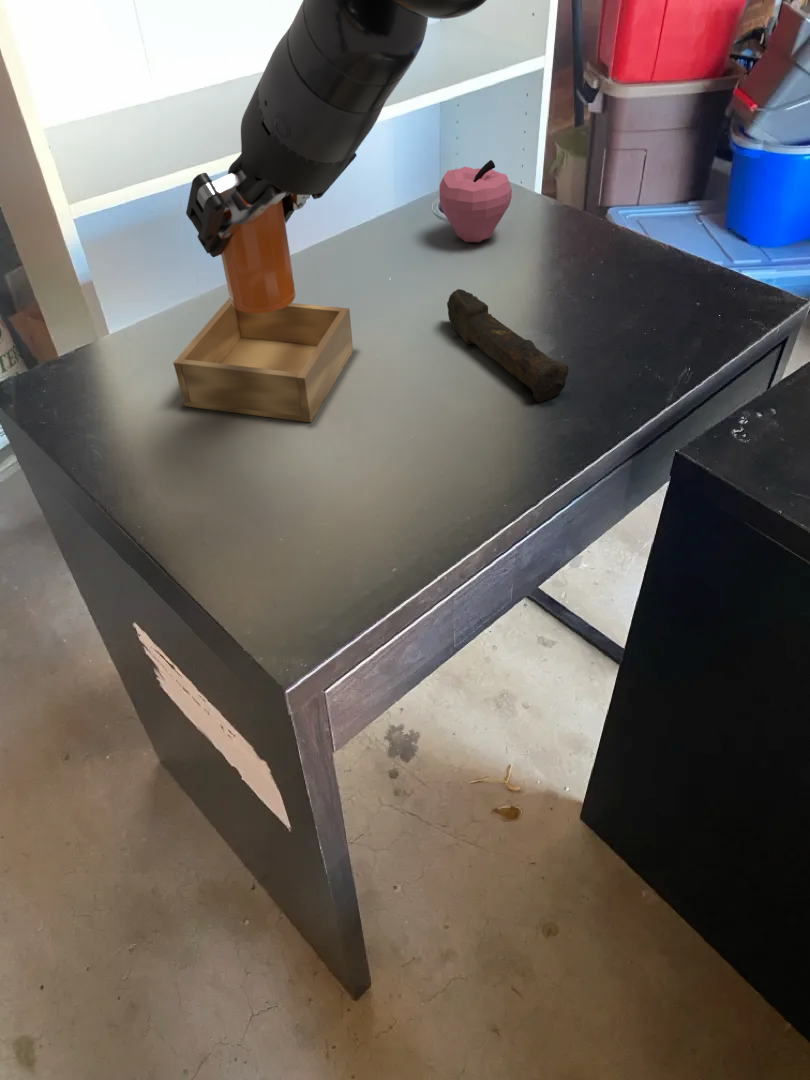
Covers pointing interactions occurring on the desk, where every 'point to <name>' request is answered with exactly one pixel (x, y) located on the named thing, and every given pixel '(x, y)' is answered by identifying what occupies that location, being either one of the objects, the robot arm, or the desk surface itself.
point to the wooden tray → (266, 360)
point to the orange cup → (260, 263)
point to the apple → (475, 200)
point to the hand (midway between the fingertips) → (240, 233)
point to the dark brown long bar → (506, 346)
